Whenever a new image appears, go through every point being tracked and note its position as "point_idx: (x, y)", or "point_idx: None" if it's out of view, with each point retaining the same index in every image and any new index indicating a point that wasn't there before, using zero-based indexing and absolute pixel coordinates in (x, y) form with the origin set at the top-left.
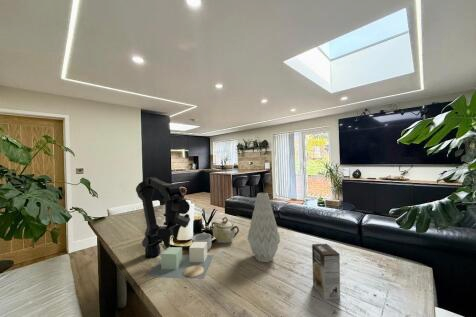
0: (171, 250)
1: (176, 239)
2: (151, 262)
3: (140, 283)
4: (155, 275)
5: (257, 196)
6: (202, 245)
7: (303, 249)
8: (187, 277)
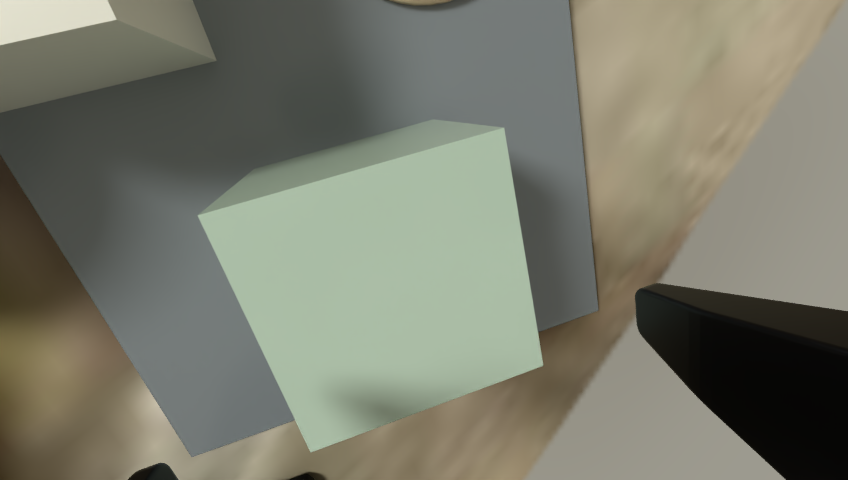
0: (401, 311)
1: (156, 467)
2: (373, 449)
3: (648, 281)
4: (569, 245)
5: None
6: None
7: None
8: None
